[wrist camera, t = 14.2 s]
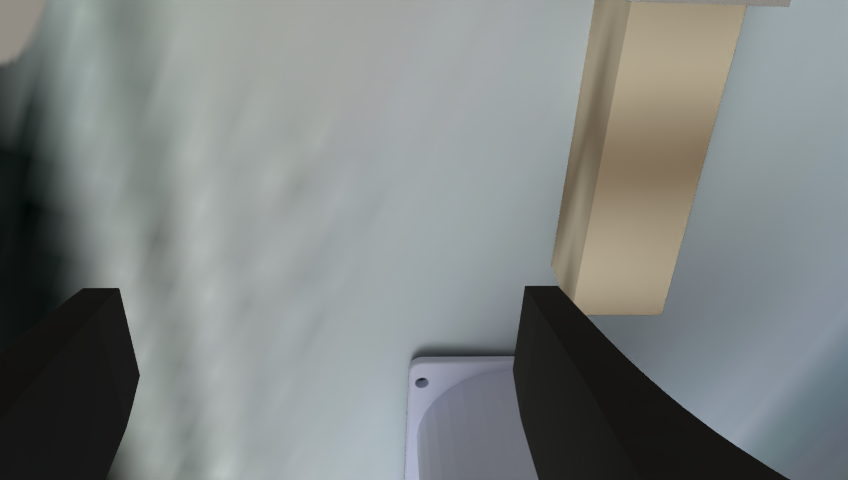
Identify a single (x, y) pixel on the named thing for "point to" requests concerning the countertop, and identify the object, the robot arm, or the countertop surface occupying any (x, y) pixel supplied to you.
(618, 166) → the capped square post
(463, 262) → the countertop surface
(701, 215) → the countertop surface
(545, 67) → the countertop surface
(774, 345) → the countertop surface
